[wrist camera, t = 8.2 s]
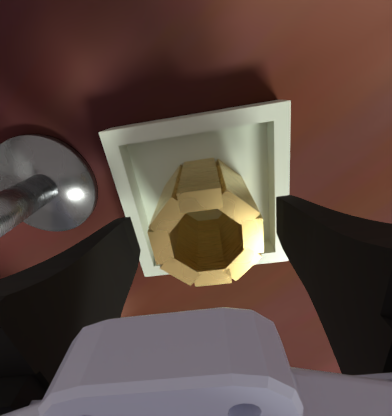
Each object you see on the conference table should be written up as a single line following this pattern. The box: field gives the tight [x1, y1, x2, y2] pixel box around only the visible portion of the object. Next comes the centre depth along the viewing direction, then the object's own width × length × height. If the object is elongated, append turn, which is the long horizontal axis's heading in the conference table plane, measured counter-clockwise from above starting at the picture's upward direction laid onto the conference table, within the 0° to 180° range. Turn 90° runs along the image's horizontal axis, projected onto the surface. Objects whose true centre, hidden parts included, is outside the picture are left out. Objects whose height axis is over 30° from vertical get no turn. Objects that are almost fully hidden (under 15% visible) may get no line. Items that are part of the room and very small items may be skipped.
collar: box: [147, 158, 264, 287], centre depth 13 cm, size 5×6×5 cm
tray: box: [98, 100, 291, 277], centre depth 14 cm, size 10×10×2 cm
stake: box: [0, 134, 98, 237], centre depth 13 cm, size 6×6×6 cm
